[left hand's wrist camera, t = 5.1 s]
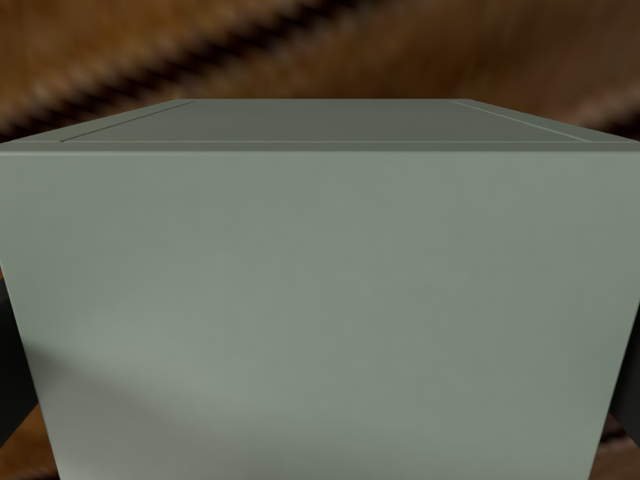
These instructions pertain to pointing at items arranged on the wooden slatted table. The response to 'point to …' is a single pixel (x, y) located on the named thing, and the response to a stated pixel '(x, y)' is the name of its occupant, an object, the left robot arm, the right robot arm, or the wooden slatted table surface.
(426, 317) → the cabinet
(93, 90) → the wooden slatted table surface
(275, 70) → the wooden slatted table surface
